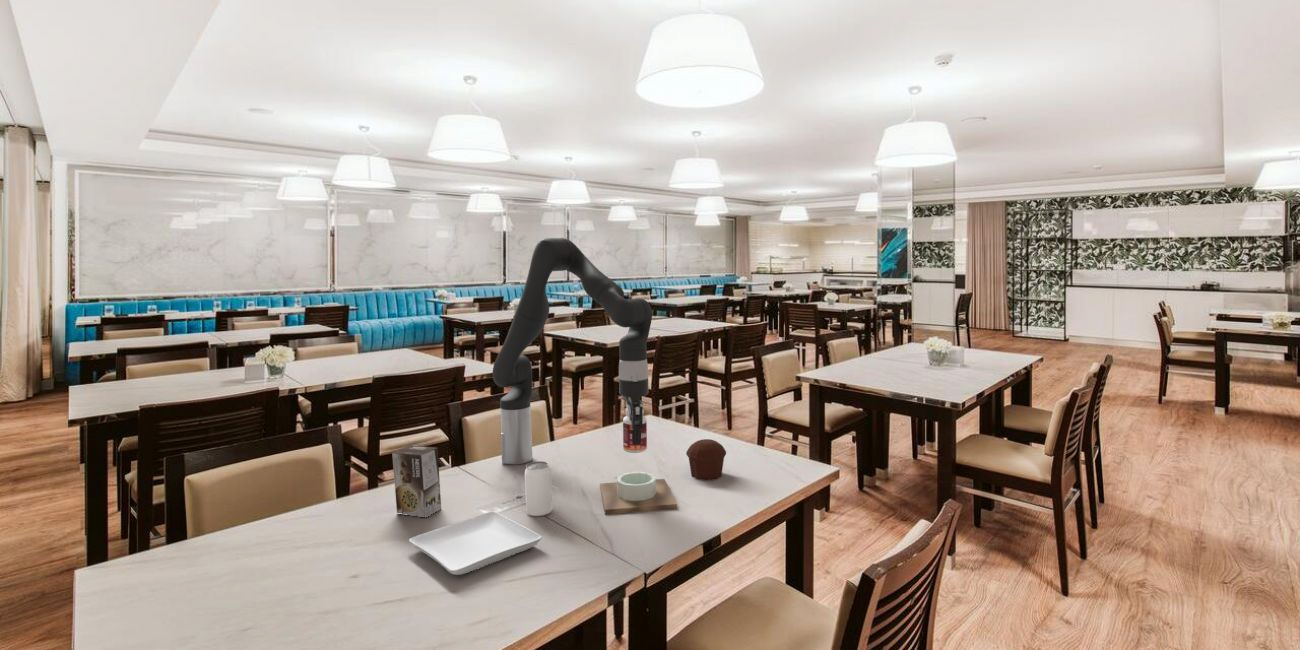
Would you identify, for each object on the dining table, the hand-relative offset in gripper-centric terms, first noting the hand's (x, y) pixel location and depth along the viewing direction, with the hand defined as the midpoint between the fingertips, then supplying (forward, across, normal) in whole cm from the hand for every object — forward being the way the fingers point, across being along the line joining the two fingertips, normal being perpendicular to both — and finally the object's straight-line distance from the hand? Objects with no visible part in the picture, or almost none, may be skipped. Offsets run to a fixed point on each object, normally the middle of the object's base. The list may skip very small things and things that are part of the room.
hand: (635, 439), depth 157 cm
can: (+16, +4, -25) cm, 30 cm away
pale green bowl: (+14, 0, 0) cm, 14 cm away
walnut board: (+16, 0, 0) cm, 16 cm away
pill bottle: (+3, 0, 0) cm, 3 cm away
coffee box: (+16, -2, -55) cm, 57 cm away
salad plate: (+16, +22, -38) cm, 47 cm away
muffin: (+16, -13, +22) cm, 30 cm away
